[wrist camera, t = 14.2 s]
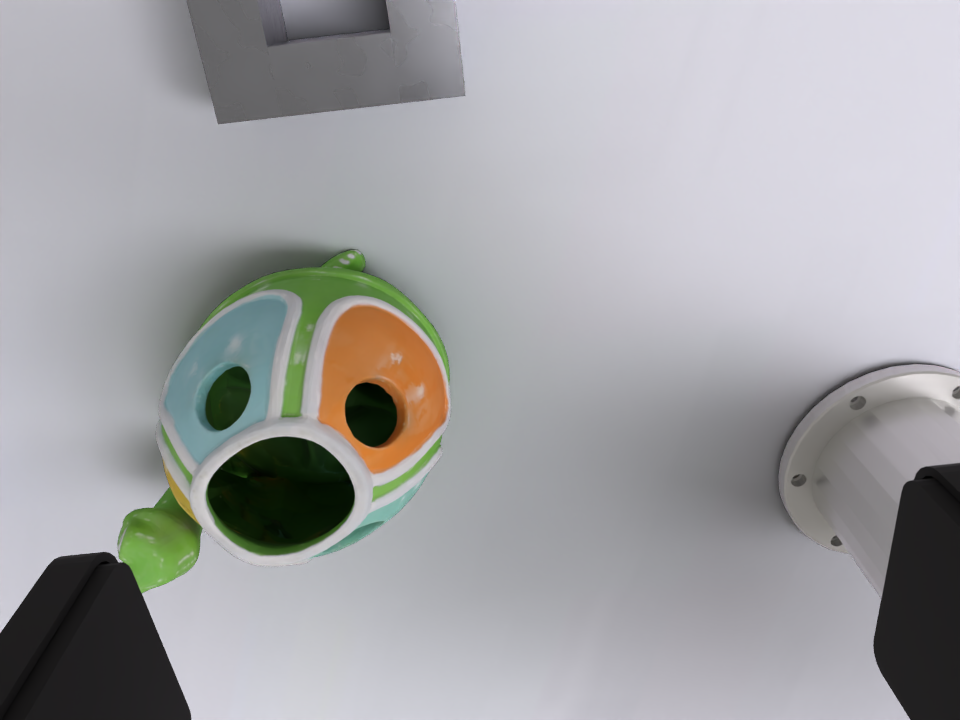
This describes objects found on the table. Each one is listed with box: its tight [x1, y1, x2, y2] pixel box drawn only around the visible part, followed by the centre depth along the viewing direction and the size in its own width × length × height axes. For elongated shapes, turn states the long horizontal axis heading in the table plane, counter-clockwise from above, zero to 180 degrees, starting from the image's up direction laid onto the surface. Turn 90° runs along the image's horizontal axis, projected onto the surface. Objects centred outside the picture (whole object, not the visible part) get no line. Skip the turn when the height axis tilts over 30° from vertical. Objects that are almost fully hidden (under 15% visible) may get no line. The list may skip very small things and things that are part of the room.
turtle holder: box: [118, 250, 451, 593], centre depth 34 cm, size 12×18×12 cm
